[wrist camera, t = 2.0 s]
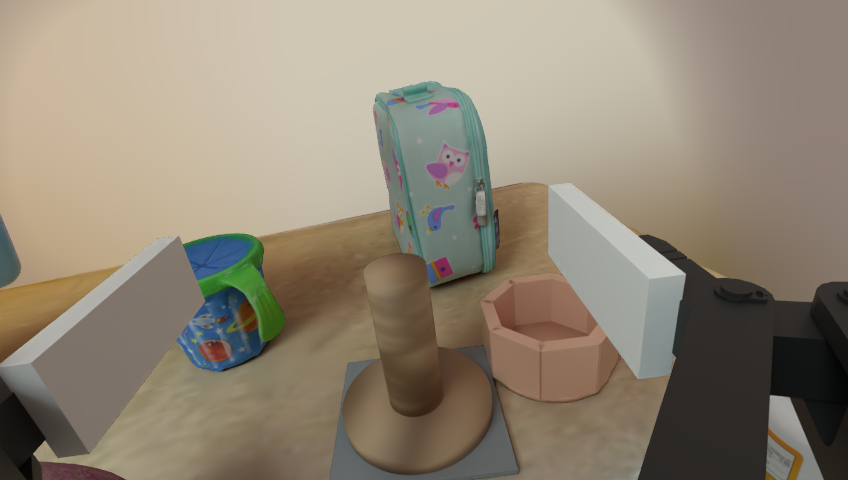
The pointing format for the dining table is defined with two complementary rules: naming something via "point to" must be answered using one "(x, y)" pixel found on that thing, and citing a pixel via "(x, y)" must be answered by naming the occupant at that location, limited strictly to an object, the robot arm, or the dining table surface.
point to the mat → (486, 460)
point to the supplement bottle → (788, 445)
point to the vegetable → (74, 472)
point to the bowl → (544, 340)
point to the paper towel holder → (413, 381)
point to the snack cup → (229, 302)
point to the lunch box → (438, 179)
